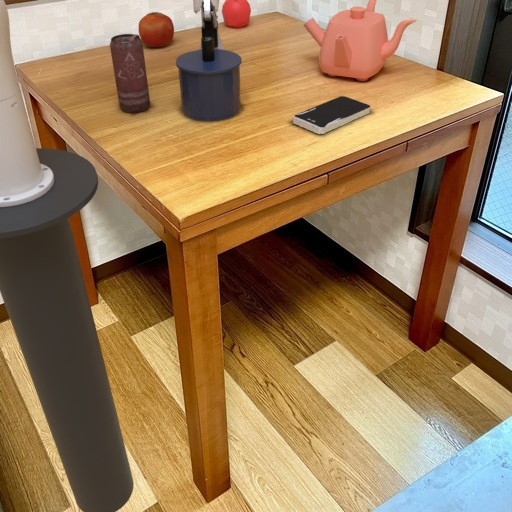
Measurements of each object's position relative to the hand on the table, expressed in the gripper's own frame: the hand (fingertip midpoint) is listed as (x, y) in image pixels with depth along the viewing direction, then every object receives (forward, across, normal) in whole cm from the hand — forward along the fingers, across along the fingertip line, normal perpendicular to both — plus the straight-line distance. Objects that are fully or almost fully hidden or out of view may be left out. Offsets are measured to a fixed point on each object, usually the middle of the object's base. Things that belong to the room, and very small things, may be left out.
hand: (210, 43), depth 125 cm
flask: (+5, 0, 0) cm, 5 cm away
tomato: (+9, -28, -15) cm, 33 cm away
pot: (+9, +13, 0) cm, 16 cm away
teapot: (+9, -7, +32) cm, 34 cm away
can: (+9, +11, -15) cm, 21 cm away
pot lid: (0, +13, 0) cm, 13 cm away
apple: (+9, -43, +5) cm, 44 cm away
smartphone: (+9, +18, +24) cm, 31 cm away
